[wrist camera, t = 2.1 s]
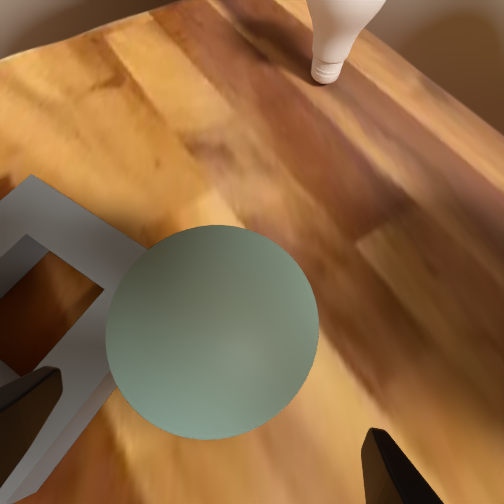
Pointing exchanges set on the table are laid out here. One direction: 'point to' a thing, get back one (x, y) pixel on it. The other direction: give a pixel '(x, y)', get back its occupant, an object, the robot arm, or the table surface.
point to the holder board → (81, 333)
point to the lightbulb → (336, 32)
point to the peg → (212, 332)
